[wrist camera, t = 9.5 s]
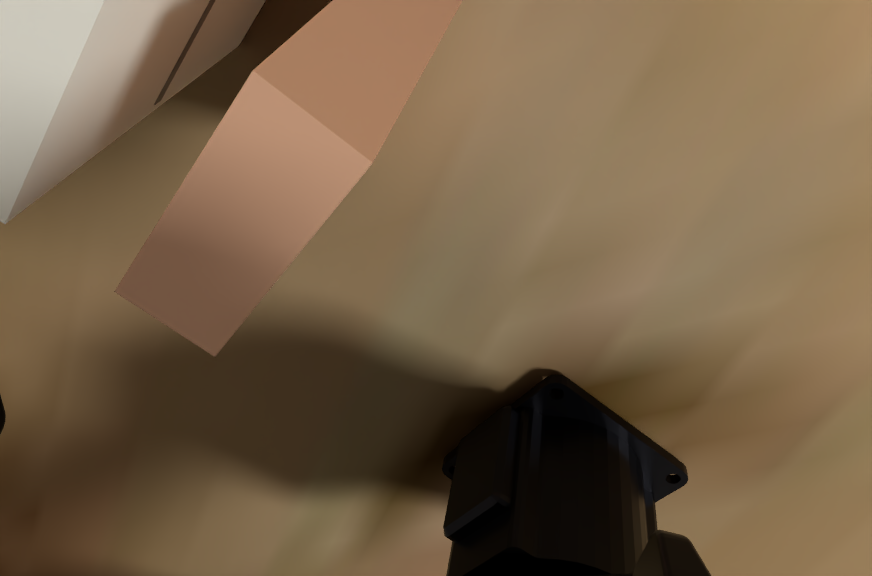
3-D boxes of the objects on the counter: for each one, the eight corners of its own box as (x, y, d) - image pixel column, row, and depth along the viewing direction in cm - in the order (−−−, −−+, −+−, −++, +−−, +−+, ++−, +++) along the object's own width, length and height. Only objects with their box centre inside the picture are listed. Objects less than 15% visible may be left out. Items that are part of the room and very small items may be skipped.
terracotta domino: (466, -6, 18) (373, 163, 10) (357, 135, 21) (216, 357, 13) (401, -62, 18) (251, 69, 10) (298, 89, 21) (113, 290, 12)
